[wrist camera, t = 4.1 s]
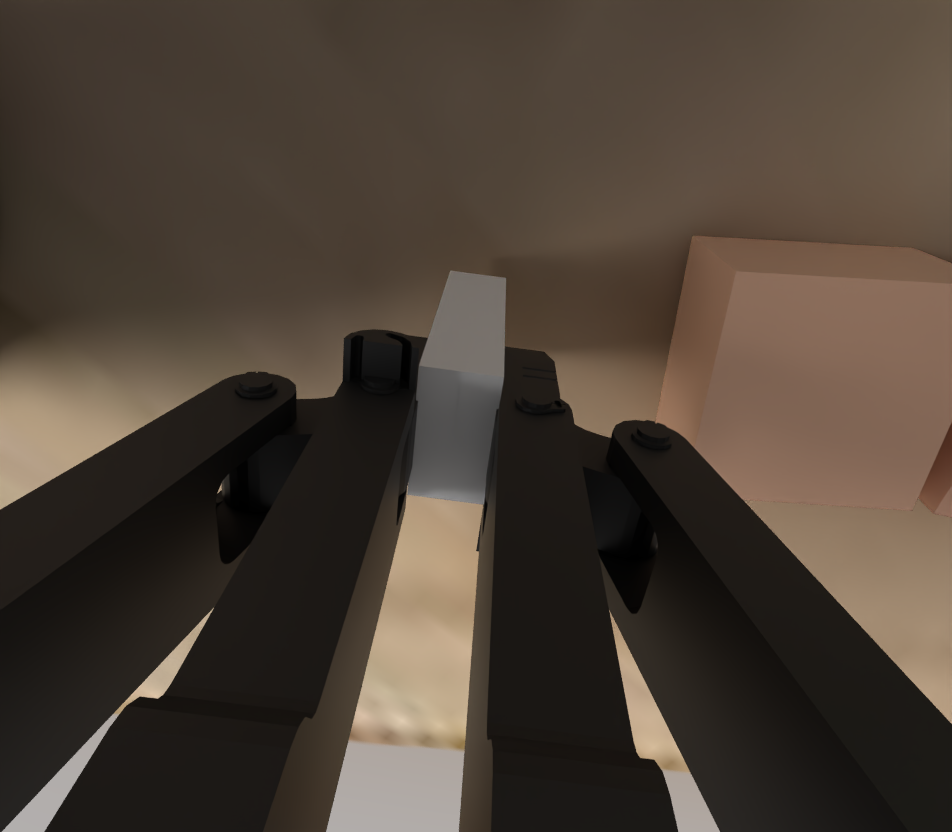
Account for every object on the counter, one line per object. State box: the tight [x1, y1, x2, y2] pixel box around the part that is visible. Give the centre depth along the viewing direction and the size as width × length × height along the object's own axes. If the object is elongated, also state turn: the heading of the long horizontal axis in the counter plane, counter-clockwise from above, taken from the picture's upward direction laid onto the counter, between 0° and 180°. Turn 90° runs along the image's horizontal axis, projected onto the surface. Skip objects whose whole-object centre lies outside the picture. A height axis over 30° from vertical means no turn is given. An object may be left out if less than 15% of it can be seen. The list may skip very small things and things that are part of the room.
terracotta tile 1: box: [655, 236, 952, 511], centre depth 17 cm, size 6×6×4 cm
